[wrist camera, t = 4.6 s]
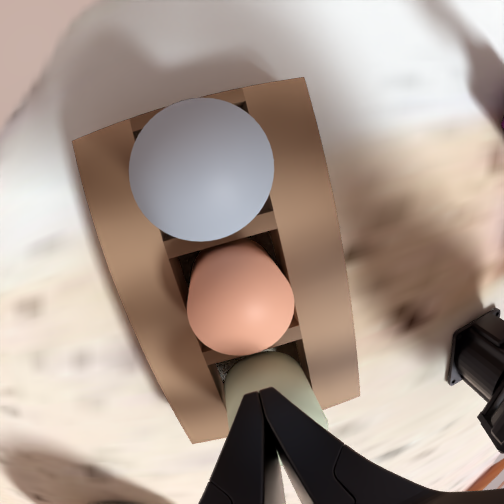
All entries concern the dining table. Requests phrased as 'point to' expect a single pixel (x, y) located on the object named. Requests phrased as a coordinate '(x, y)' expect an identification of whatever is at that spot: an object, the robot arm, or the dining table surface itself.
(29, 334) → the dining table surface
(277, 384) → the pale green rounded cube
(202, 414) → the wooden compartment tray
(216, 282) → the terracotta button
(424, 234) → the dining table surface
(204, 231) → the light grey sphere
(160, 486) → the dining table surface
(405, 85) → the dining table surface
